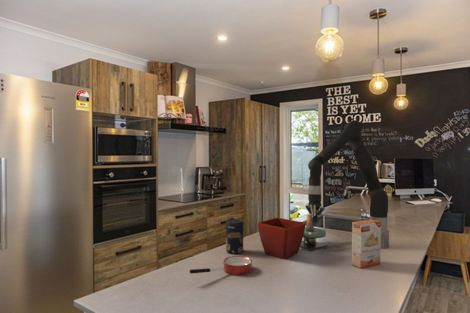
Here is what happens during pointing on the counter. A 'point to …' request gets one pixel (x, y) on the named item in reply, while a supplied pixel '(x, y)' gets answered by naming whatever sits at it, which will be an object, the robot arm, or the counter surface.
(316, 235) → the handwheel
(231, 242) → the canister
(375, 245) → the cracker box
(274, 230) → the plant pot
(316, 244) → the pedestal
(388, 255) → the counter surface
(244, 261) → the frying pan
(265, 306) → the counter surface
